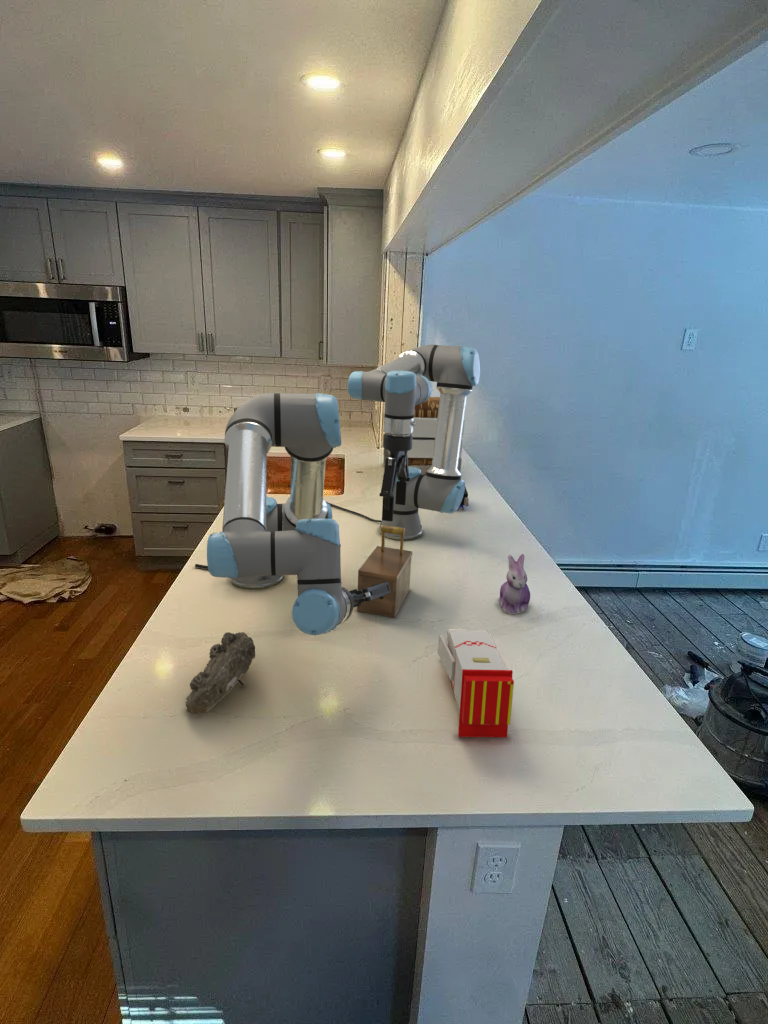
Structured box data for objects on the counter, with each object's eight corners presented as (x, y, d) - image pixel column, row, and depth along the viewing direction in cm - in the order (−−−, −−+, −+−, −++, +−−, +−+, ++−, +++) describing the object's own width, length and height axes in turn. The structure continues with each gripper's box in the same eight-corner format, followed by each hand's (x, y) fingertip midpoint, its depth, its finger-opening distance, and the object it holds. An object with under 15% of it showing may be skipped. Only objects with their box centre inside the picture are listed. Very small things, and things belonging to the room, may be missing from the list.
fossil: (206, 634, 127) (255, 603, 122) (236, 663, 130) (284, 634, 125) (163, 707, 107) (218, 674, 102) (199, 739, 110) (254, 708, 105)
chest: (374, 584, 163) (376, 550, 159) (409, 590, 160) (411, 556, 157) (356, 610, 148) (358, 574, 145) (394, 617, 146) (396, 581, 142)
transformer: (382, 463, 289) (386, 382, 275) (445, 464, 293) (451, 384, 279) (390, 482, 257) (394, 392, 243) (460, 483, 261) (468, 394, 247)
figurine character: (468, 514, 225) (463, 498, 239) (470, 497, 222) (465, 482, 235) (451, 514, 225) (447, 498, 238) (453, 497, 222) (449, 481, 235)
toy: (488, 613, 130) (523, 677, 101) (484, 667, 133) (517, 744, 104) (435, 612, 130) (455, 676, 101) (432, 666, 133) (451, 743, 103)
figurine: (512, 619, 147) (519, 566, 142) (488, 601, 156) (494, 551, 151) (540, 611, 151) (548, 560, 146) (515, 594, 160) (522, 546, 155)
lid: (377, 549, 160) (378, 520, 157) (412, 555, 158) (414, 525, 155) (358, 574, 145) (359, 542, 142) (396, 581, 142) (398, 548, 139)
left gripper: (274, 643, 107) (302, 630, 128) (400, 606, 105) (407, 599, 126) (263, 605, 108) (293, 598, 129) (388, 567, 106) (397, 566, 127)
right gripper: (400, 445, 132) (395, 530, 139) (422, 426, 155) (418, 499, 162) (369, 442, 134) (366, 525, 141) (396, 423, 157) (392, 496, 164)
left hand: (349, 598), depth 127 cm, fingers open, 13 cm apart
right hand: (394, 512), depth 152 cm, fingers open, 13 cm apart
